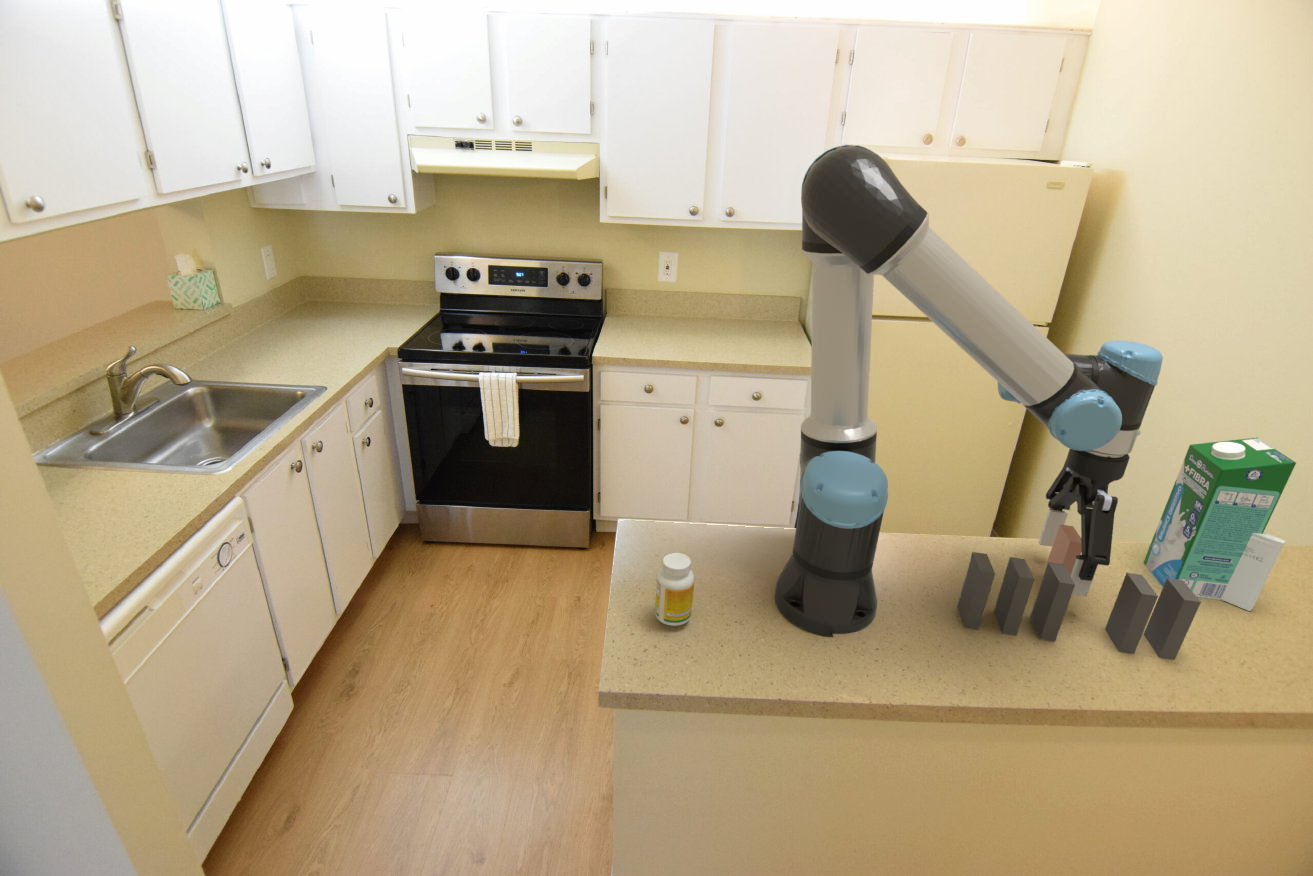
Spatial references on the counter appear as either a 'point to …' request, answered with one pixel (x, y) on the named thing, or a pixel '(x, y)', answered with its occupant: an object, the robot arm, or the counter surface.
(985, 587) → the domino
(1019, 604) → the domino
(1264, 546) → the external hard drive
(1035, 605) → the domino
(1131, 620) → the domino
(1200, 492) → the milk carton
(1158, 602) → the domino
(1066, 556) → the domino
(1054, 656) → the counter surface
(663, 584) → the supplement bottle
